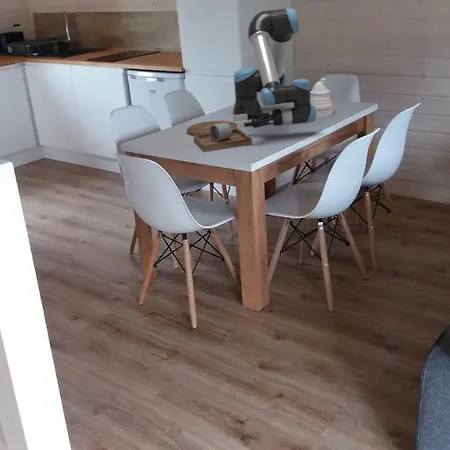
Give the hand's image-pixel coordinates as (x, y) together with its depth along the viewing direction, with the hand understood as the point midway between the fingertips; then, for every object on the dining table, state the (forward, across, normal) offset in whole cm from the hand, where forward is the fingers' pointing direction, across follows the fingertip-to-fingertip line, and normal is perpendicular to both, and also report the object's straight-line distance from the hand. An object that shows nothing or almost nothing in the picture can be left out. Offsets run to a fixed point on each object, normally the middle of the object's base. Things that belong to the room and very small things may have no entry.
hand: (234, 121), depth 284 cm
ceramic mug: (+7, +2, -8) cm, 11 cm away
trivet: (+9, +26, -10) cm, 29 cm away
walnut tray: (+6, 0, -9) cm, 11 cm away
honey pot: (-47, +36, -9) cm, 60 cm away
